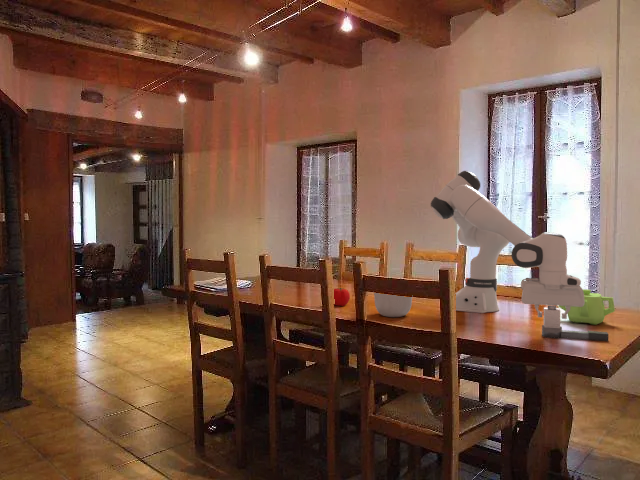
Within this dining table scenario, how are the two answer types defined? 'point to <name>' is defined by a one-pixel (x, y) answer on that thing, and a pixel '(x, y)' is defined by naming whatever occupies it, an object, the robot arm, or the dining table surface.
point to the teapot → (590, 309)
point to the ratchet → (574, 334)
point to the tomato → (341, 296)
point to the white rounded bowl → (392, 305)
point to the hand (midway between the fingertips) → (551, 317)
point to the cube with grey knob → (551, 317)
